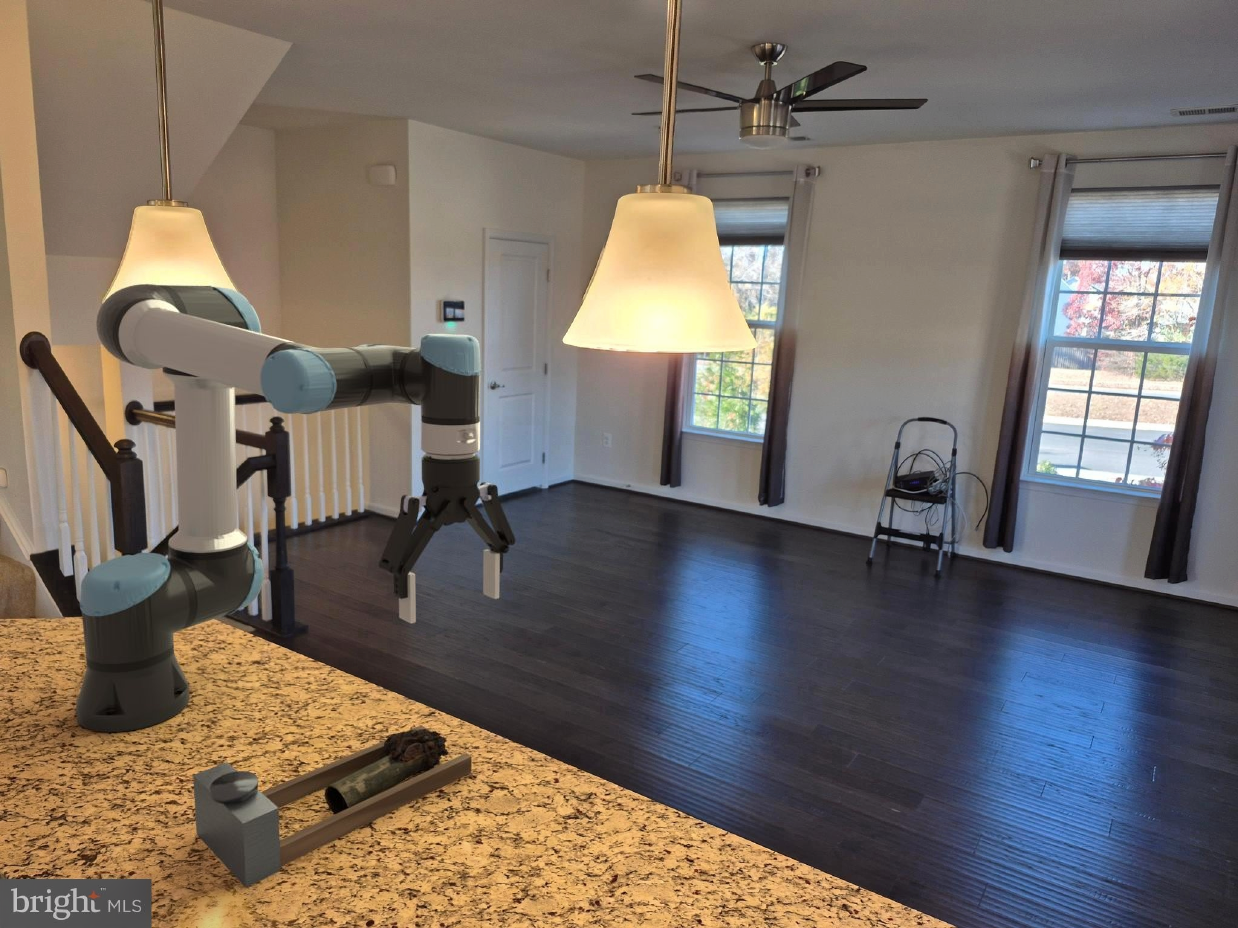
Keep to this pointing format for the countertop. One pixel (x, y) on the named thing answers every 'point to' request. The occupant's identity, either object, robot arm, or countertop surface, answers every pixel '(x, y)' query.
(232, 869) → the block
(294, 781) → the channel rails
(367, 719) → the countertop surface
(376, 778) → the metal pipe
